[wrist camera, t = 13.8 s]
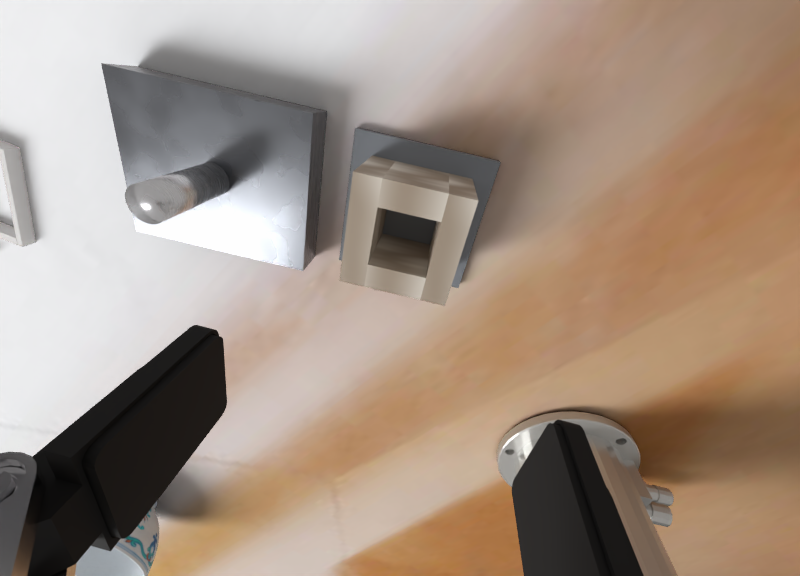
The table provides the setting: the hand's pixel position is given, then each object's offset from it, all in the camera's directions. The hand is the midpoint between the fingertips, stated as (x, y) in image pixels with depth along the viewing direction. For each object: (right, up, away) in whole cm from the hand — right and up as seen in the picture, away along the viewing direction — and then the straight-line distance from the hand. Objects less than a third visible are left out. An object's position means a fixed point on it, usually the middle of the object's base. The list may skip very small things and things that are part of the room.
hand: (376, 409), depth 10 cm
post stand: (-11, +12, +14) cm, 21 cm away
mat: (+2, +9, +14) cm, 16 cm away
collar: (+1, +8, +13) cm, 16 cm away
